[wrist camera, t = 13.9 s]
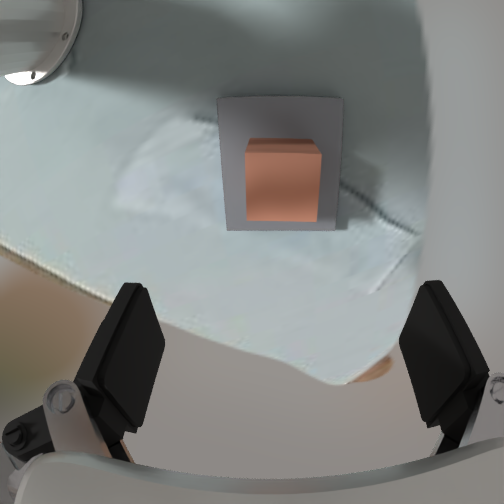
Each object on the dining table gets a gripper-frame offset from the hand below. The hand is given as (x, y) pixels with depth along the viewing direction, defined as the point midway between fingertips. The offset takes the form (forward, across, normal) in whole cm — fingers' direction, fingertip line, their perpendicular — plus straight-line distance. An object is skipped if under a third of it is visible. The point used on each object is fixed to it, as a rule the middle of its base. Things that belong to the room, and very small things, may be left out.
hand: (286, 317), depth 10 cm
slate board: (+18, 0, 0) cm, 19 cm away
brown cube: (+17, 0, 0) cm, 17 cm away
